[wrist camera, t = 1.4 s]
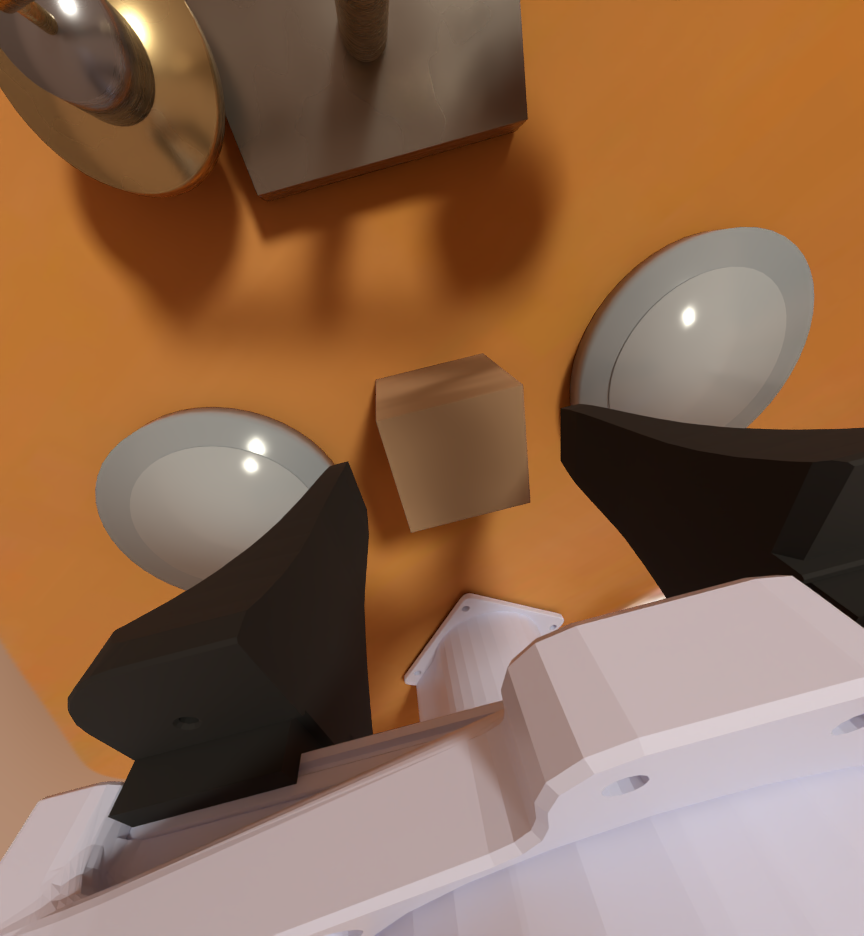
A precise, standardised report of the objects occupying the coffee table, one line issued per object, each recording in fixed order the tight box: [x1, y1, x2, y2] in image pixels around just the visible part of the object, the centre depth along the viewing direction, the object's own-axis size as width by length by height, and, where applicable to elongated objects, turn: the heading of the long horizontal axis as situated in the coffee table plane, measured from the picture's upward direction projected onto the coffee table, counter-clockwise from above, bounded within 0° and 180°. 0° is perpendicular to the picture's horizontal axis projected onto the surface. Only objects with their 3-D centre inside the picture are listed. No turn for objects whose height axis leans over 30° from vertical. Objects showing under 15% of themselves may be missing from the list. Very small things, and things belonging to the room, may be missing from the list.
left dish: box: [95, 407, 334, 590], centre depth 15 cm, size 10×10×1 cm
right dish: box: [570, 227, 814, 428], centre depth 15 cm, size 10×10×1 cm
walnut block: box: [376, 353, 530, 533], centre depth 13 cm, size 4×4×4 cm
